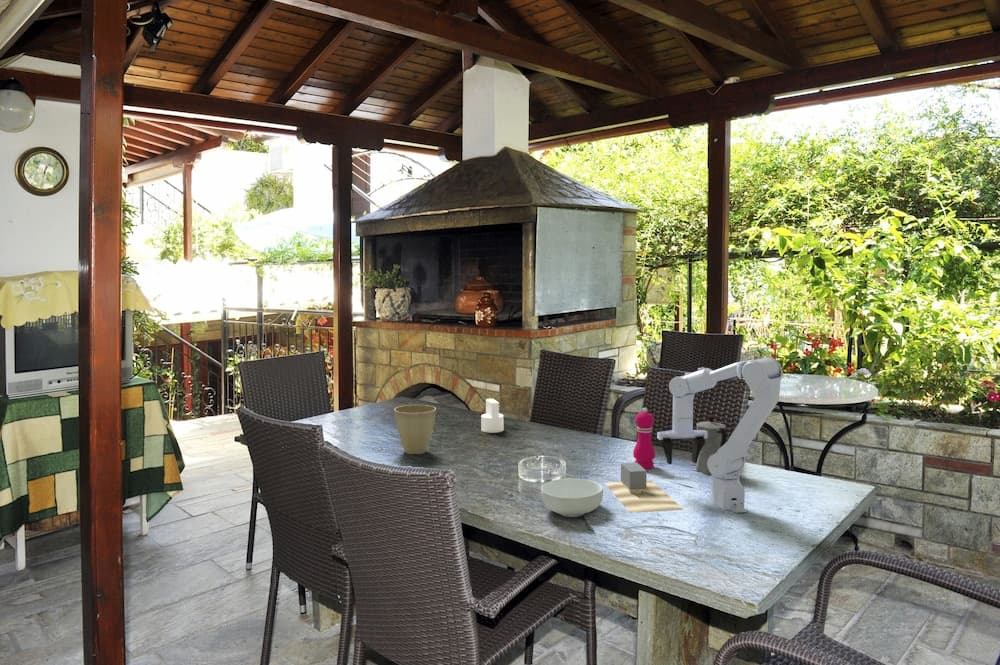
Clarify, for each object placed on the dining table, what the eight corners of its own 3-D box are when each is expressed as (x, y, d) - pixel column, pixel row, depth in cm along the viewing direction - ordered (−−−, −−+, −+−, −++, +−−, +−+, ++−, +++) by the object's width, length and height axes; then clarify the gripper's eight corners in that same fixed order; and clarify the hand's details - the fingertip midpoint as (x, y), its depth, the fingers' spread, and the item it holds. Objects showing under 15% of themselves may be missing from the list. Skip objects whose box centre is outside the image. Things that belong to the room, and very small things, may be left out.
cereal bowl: (564, 497, 207) (564, 474, 206) (614, 510, 196) (614, 485, 196) (528, 514, 194) (528, 488, 193) (580, 528, 183) (580, 501, 183)
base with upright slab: (478, 428, 292) (478, 399, 291) (499, 426, 295) (499, 398, 294) (484, 433, 284) (484, 403, 283) (506, 431, 287) (506, 402, 285)
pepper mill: (639, 470, 232) (639, 410, 230) (629, 464, 239) (629, 406, 237) (659, 469, 234) (660, 409, 232) (648, 463, 241) (649, 404, 239)
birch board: (683, 514, 193) (683, 509, 193) (629, 516, 191) (629, 512, 191) (651, 484, 218) (651, 480, 218) (604, 486, 217) (604, 482, 216)
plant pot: (416, 460, 247) (415, 414, 245) (386, 453, 256) (385, 409, 254) (445, 450, 259) (444, 407, 257) (415, 444, 268) (414, 402, 266)
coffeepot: (686, 465, 237) (687, 412, 235) (712, 463, 240) (713, 411, 238) (711, 479, 222) (712, 423, 221) (738, 477, 225) (739, 421, 223)
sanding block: (646, 491, 208) (646, 470, 207) (629, 491, 207) (629, 471, 207) (636, 481, 217) (636, 462, 216) (620, 482, 216) (620, 463, 216)
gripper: (701, 413, 212) (700, 457, 213) (653, 414, 210) (653, 459, 211) (710, 418, 205) (709, 464, 206) (662, 420, 203) (661, 466, 204)
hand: (681, 462), depth 208 cm, fingers open, 7 cm apart
